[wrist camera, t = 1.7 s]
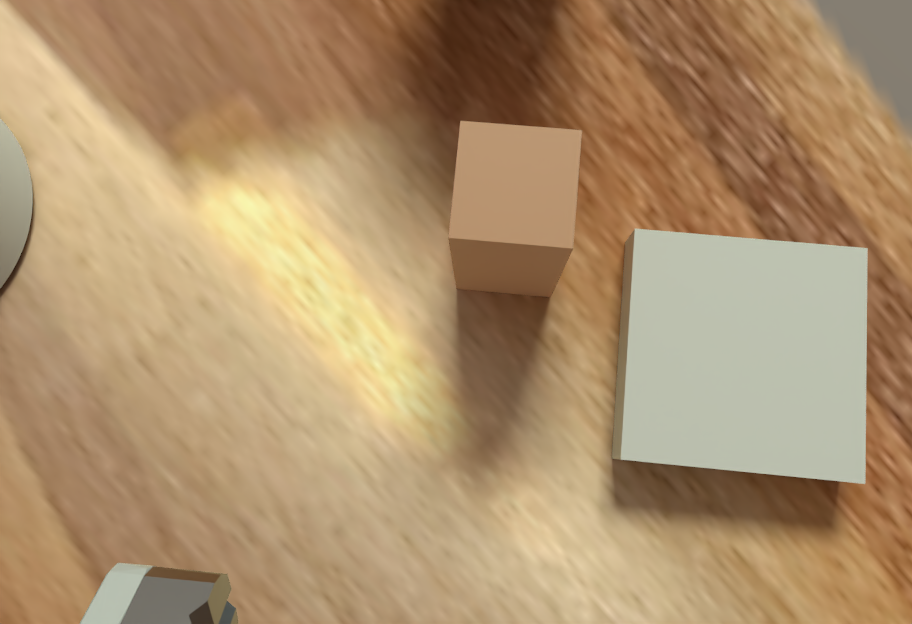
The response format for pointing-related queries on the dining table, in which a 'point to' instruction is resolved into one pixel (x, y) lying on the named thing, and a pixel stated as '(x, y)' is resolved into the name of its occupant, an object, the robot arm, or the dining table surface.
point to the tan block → (513, 207)
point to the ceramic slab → (743, 355)
